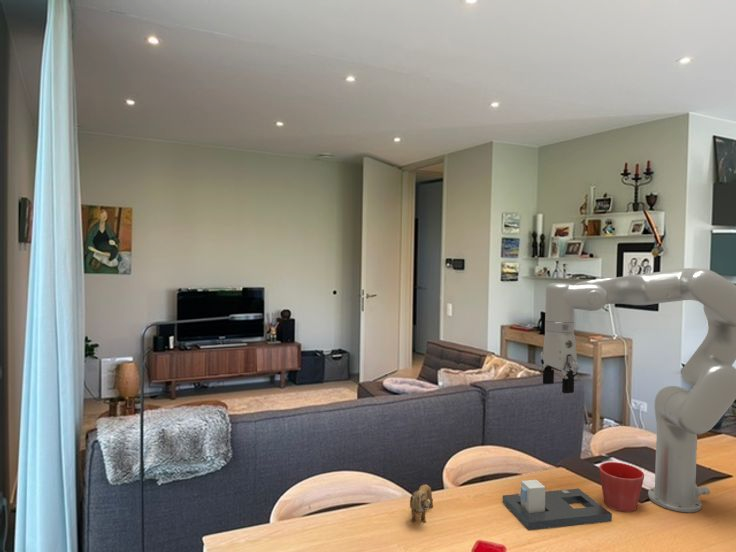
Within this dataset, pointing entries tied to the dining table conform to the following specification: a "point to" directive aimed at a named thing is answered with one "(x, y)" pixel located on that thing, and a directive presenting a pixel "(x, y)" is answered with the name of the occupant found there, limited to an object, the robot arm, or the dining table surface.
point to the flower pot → (621, 485)
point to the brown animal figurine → (421, 502)
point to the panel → (559, 510)
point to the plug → (532, 496)
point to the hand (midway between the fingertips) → (557, 388)
